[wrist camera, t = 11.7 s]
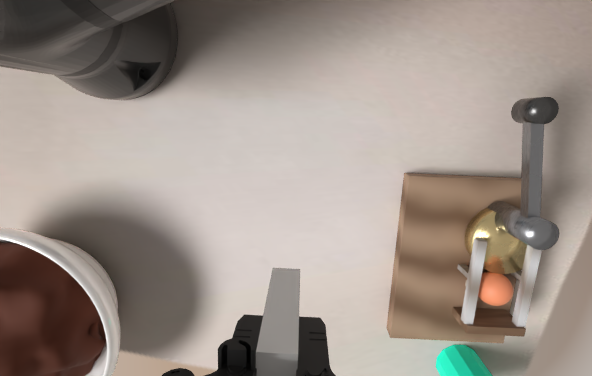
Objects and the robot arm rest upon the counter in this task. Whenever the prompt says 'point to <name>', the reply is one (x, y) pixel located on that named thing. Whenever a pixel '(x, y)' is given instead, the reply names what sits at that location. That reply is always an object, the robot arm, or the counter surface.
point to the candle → (460, 362)
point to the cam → (526, 221)
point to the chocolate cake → (54, 309)
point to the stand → (452, 262)
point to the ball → (495, 289)
